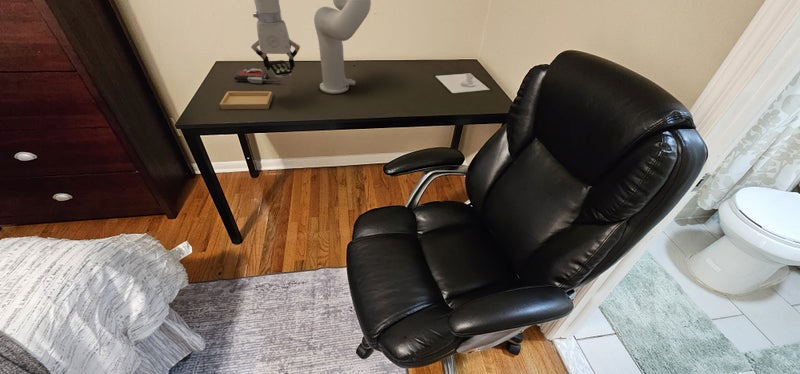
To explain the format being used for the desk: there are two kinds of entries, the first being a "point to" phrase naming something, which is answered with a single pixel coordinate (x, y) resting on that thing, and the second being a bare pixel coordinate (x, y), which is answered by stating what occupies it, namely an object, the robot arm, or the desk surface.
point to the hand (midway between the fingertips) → (280, 68)
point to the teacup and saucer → (461, 83)
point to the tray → (247, 100)
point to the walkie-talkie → (253, 76)
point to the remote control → (280, 69)
